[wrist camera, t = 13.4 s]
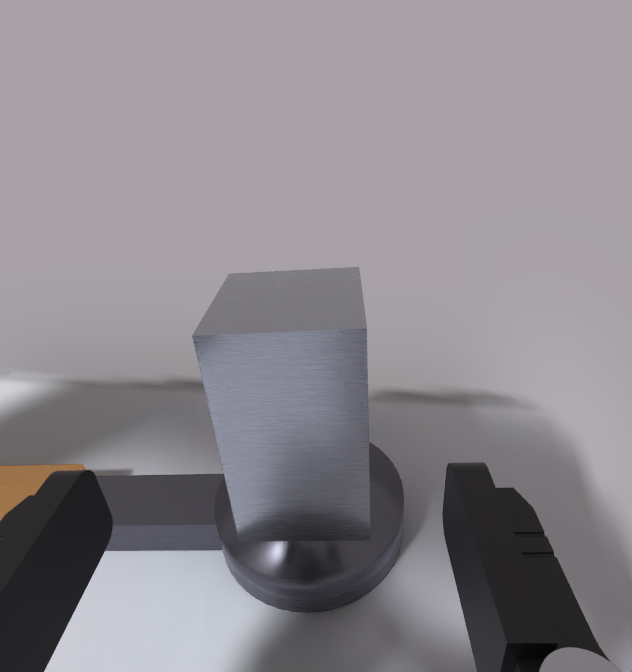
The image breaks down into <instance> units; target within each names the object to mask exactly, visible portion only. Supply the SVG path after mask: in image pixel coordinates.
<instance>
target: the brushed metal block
mask: <svg viewBox="0 0 632 672" xmlns="http://www.w3.org/2000/svg"><path fill="white" fill-rule="evenodd" d="M192 337H193V340H194V345H195V350H196V354H197V358H198V363H199V367H200V372H201V376H202V380H203V385H204V389H205V393H206V398H207V402H208V407H209V411H210V415H211V420H212V424H213V428H214V433H215V437H216V442H217V446H218V450H219V455H220V459H221V463H222V468H223V472H224V477H225V481H226V485H227V490H228V494H229V498H230V503H231V507H232V512H233V516H234V520H235V525H236V529H237V533H238V538H239V542H270V541H370V540H371V539H370V482H369V425H368V370H367V369H368V368H367V326H366V318H365V310H364V303H363V294H362V287H361V279H360V271H359V267H353V268H352V267H351V268H331V269H312V270H293V271H274V272H255V273H236V274H229V275H228V277H227V278H226V280H225V281H224V283H223V285H222V286H221V288H220V290H219V292H218V293H217V295H216V297H215V298H214V300H213V302H212V304H211V305H210V307H209V308H208V310H207V312H206V314H205V316H204V317H203V319H202V320H201V322H200V324H199V326H198V327H197V329H196V330H195V332H194V334H193V336H192Z"/></svg>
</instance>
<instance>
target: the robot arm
mask: <svg viewBox="0 0 632 672" xmlns="http://www.w3.org/2000/svg"><path fill="white" fill-rule="evenodd" d="M443 527H444V535H445V540H446V544H447V549H448V553H449V557H450V561H451V565H452V569H453V573H454V577H455V581H456V586H457V590H458V594H459V598H460V602H461V606H462V610H463V614H464V618H465V623H466V627H467V631H468V635H469V639H470V643H471V647H472V651H473V655H474V660H475V664H476V668H477V672H622V671H621V670H620V669H619V668H617V667H616V666H615V665H614V664H613V663H611V662H610V660H609V659H608V658H607V657H606V656H605V654H604V653H603V651H602V650H601V648H600V647H599V645H598V643H597V642H596V640H595V638H594V636H593V634H592V632H591V629H590V627H589V625H588V623H587V621H586V619H585V617H584V615H583V613H582V610H581V608H580V606H579V604H578V602H577V600H576V598H575V596H574V593H573V591H572V589H571V587H570V585H569V583H568V581H567V579H566V577H565V574H564V572H563V570H562V568H561V566H560V564H559V562H558V560H557V558H556V557H555V556H554V551H553V549H552V547H551V545H550V543H549V541H548V538H547V537H545V535H544V530H543V528H542V526H541V524H540V522H539V519H538V517H537V515H536V513H535V511H534V509H533V507H532V506H531V505H530V504H529V503H528V502H527V501H526V500H525V499H524V498H523V497H522V496H521V495H520V494H519V493H518V492H517V491H516V490H515V489H514V488H496V487H495V485H494V483H493V480H492V478H491V475H490V473H489V470H488V468H487V466H486V464H485V463H449V464H448V465H447V471H446V482H445V492H444V503H443ZM112 528H113V519H112V515H111V512H110V509H109V507H108V505H107V502H106V500H105V497H104V495H103V493H102V490H101V488H100V485H99V483H98V480H97V478H96V476H95V474H94V473H93V472H92V471H90V470H71V471H55V472H53V473H52V474H50V475H49V476H48V478H47V479H46V480H45V482H44V483H43V484H42V486H41V487H40V488H39V490H38V491H37V492H36V494H35V495H29V496H28V497H26V498H25V499H24V500H23V501H21V502H20V503H19V504H18V505H16V506H15V507H14V508H13V509H12V510H10V511H9V512H8V513H7V514H5V516H4V517H3V518H2V519H1V521H0V672H44V670H45V668H46V666H47V664H48V662H49V661H50V659H51V657H52V655H53V653H54V651H55V649H56V647H57V645H58V643H59V641H60V639H61V637H62V635H63V633H64V631H65V629H66V627H67V625H68V623H69V621H70V619H71V617H72V615H73V613H74V611H75V609H76V607H77V605H78V603H79V601H80V599H81V597H82V595H83V593H84V591H85V589H86V587H87V585H88V583H89V581H90V579H91V577H92V575H93V573H94V571H95V569H96V567H97V565H98V563H99V561H100V559H101V558H102V556H103V554H104V552H105V550H106V548H107V546H108V543H109V541H110V538H111V534H112Z"/></svg>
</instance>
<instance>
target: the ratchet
mask: <svg viewBox="0 0 632 672" xmlns="http://www.w3.org/2000/svg"><path fill="white" fill-rule="evenodd" d="M71 470H85V467H84V465H83V464H65V465H15V466H0V521H1V519H2V518H3V517H4V516H5V514H7V513H8V512H9V511H10V510H12V509H13V508H14V507H15V506H16V505H18V504H19V503H20V502H21V501H23V500H24V499H25V498H26V497H28V496H29V495H35V494H36V492H37V491H38V490H39V488H40V487H41V486H42V484H43V483H44V482H45V480H46V479H47V478H48V476H49V475H50V474H52V473H53V472H55V471H71ZM96 478H97V480H98V483H99V485H100V488H101V490H102V493H103V495H104V497H105V500H106V502H107V505H108V507H109V509H110V512H111V515H112V519H113V528H112V534H111V538H110V541H109V543H108V546H107V548H106V550H105V551H139V550H223V553H224V556H225V560H226V563H227V565H228V567H229V569H230V571H231V573H232V575H233V576H234V578H235V579H236V581H237V582H238V583H239V584H240V585H241V586H242V587H243V588H244V589H245V590H246V591H247V592H248V593H250V594H251V595H252V596H254V597H255V598H257V599H258V600H260V601H262V602H264V603H266V604H268V605H271V606H274V607H276V608H279V609H284V610H288V611H294V612H320V611H325V610H330V609H335V608H338V607H341V606H344V605H347V604H349V603H351V602H353V601H355V600H357V599H359V598H361V597H362V596H364V595H365V594H367V593H368V592H370V591H371V590H372V589H373V588H374V587H376V586H377V585H378V584H379V583H380V582H381V581H382V580H383V578H384V577H385V576H386V575H387V574H388V572H389V571H390V569H391V567H392V566H393V564H394V563H395V560H396V558H397V555H398V553H399V550H400V546H401V542H402V532H403V503H404V496H403V487H402V483H401V479H400V477H399V474H398V472H397V470H396V468H395V467H394V465H393V463H392V462H391V461H390V459H389V458H388V457H387V456H386V455H385V454H384V453H383V452H382V451H381V450H380V449H379V448H377V447H376V446H374V445H373V444H372V443H370V442H369V482H370V539H371V540H370V541H270V542H239V538H238V533H237V529H236V525H235V520H234V516H233V512H232V507H231V503H230V498H229V494H228V490H227V485H226V481H225V477H224V474H191V475H135V476H96Z"/></svg>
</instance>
